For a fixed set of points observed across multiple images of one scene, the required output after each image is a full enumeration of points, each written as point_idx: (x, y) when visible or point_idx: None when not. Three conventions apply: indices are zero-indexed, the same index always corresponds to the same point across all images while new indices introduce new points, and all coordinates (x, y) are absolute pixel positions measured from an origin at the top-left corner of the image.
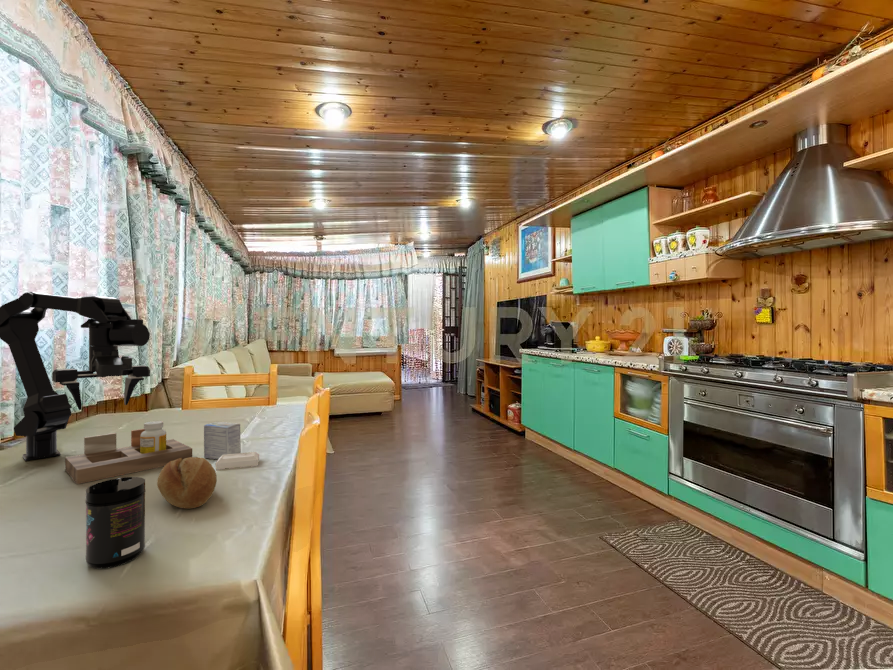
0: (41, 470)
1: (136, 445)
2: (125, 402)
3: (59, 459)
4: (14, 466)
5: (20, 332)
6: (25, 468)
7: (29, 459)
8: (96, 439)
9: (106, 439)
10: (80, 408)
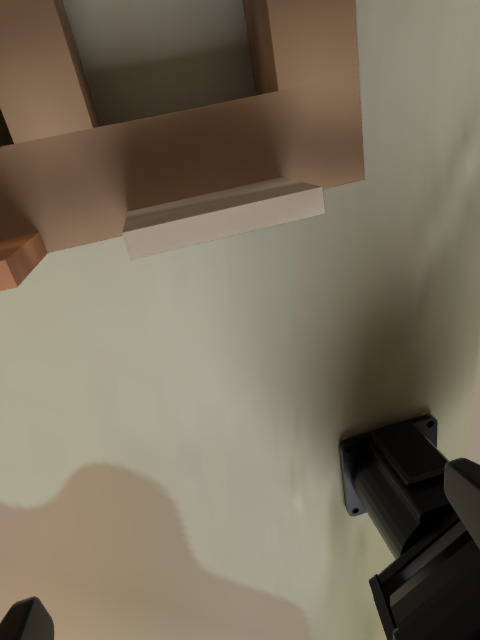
0: (404, 237)
1: (11, 238)
2: (27, 630)
3: (343, 387)
4: (462, 361)
5: None
6: (441, 309)
7: (425, 416)
8: (247, 200)
9: (185, 210)
10: (463, 464)
